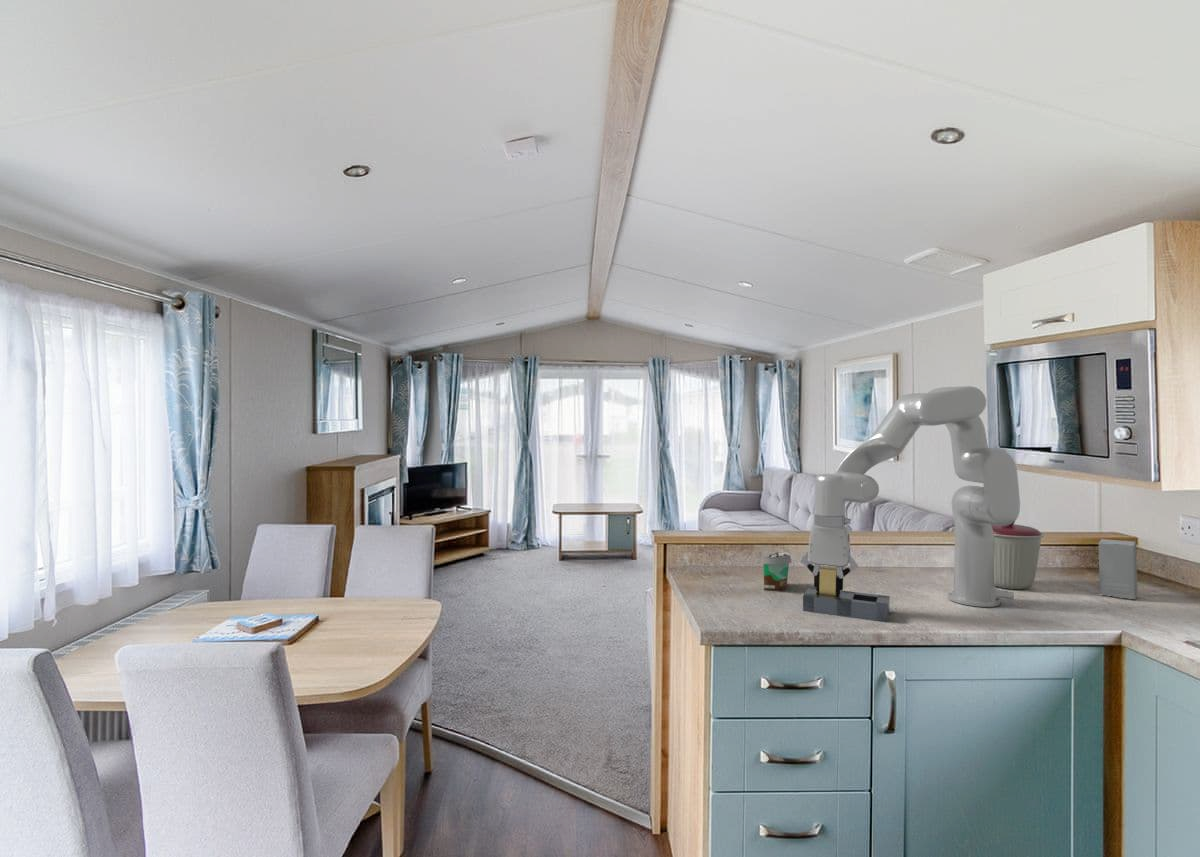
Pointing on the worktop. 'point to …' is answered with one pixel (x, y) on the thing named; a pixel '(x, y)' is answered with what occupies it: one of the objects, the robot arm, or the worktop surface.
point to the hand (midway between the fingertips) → (828, 590)
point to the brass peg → (828, 581)
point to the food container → (776, 571)
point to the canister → (1015, 555)
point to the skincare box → (1118, 568)
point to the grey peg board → (848, 604)
